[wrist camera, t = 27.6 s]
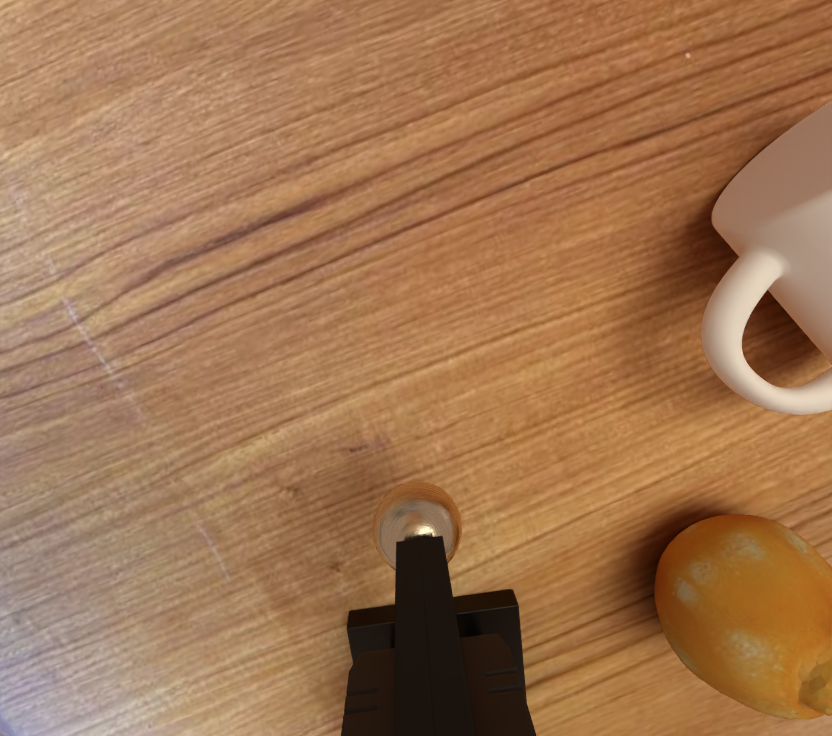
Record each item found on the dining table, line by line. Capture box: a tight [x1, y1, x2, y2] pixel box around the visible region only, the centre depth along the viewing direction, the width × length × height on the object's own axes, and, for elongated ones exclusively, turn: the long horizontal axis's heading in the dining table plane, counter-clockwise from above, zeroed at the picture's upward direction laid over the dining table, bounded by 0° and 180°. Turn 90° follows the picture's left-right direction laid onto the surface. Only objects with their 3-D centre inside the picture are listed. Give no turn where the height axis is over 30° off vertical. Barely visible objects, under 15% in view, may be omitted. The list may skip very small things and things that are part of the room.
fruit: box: [654, 515, 832, 719], centre depth 21 cm, size 8×8×8 cm
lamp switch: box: [372, 481, 462, 570], centre depth 16 cm, size 16×3×3 cm, turn 7°
